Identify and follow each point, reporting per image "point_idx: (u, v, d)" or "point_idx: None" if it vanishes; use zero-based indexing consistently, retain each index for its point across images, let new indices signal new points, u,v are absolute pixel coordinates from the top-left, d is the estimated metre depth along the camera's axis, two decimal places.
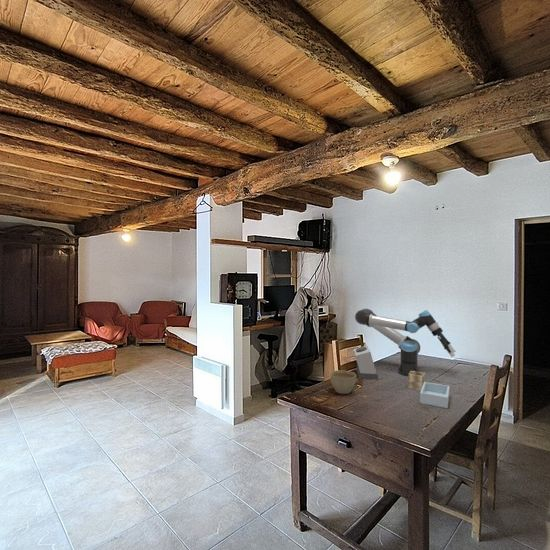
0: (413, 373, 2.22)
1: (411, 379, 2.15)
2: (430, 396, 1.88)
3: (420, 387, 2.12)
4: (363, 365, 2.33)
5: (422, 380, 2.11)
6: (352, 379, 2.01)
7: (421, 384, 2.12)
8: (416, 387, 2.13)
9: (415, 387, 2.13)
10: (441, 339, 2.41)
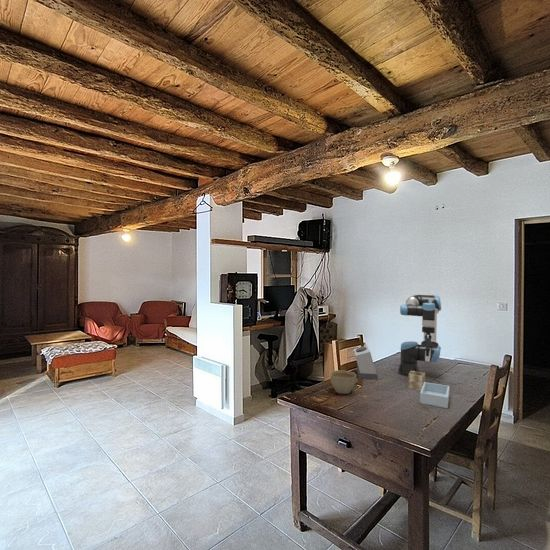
0: (413, 373, 2.22)
1: (411, 379, 2.15)
2: (430, 396, 1.88)
3: (420, 387, 2.12)
4: (363, 365, 2.33)
5: (422, 380, 2.11)
6: (352, 379, 2.01)
7: (421, 384, 2.12)
8: (416, 387, 2.13)
9: (415, 387, 2.13)
10: (428, 339, 2.10)
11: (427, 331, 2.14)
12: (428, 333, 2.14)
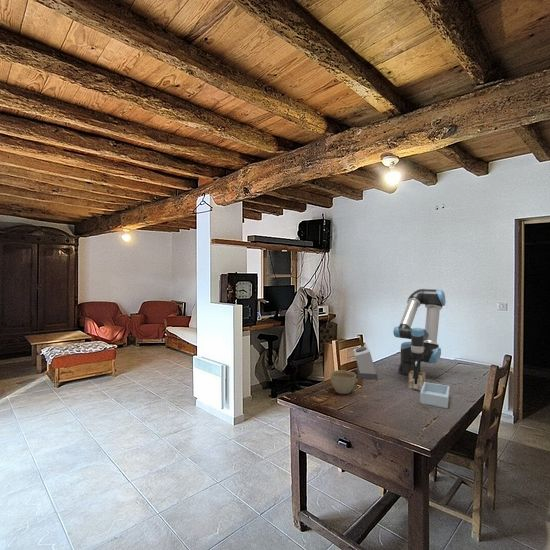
0: (413, 373, 2.22)
1: (411, 379, 2.14)
2: (430, 396, 1.88)
3: (420, 387, 2.12)
4: (363, 365, 2.33)
5: (422, 380, 2.11)
6: (352, 379, 2.01)
7: (421, 384, 2.12)
8: None
9: None
10: (416, 367, 2.11)
11: (415, 357, 2.14)
12: (416, 359, 2.14)
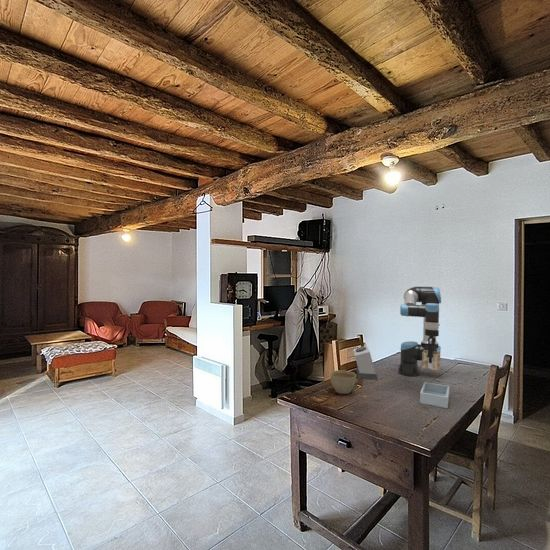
0: (427, 352, 2.05)
1: (425, 358, 1.98)
2: (430, 396, 1.88)
3: (435, 366, 1.95)
4: (363, 365, 2.33)
5: (437, 358, 1.94)
6: (352, 379, 2.01)
7: (436, 363, 1.95)
8: None
9: None
10: (430, 345, 1.94)
11: (430, 334, 1.97)
12: (431, 336, 1.97)
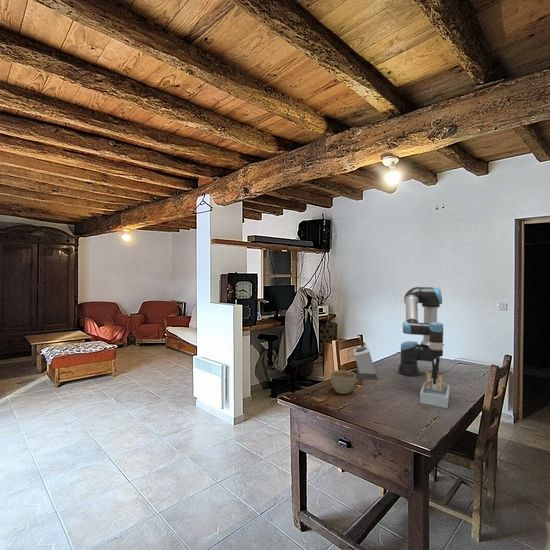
0: (431, 372, 2.01)
1: (429, 379, 1.94)
2: (430, 396, 1.88)
3: (439, 387, 1.91)
4: (362, 365, 2.33)
5: (441, 379, 1.91)
6: (352, 379, 2.01)
7: (440, 384, 1.91)
8: None
9: None
10: (435, 365, 1.90)
11: (434, 354, 1.93)
12: (435, 357, 1.93)
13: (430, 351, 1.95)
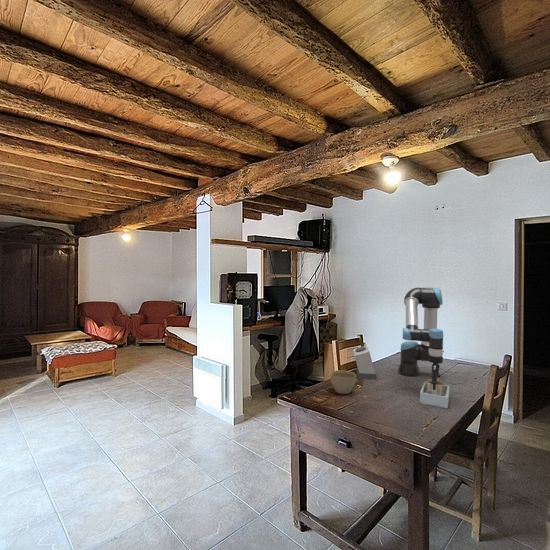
0: None
1: (429, 389, 1.94)
2: (430, 396, 1.88)
3: None
4: (362, 365, 2.33)
5: (441, 390, 1.91)
6: (352, 379, 2.01)
7: (440, 394, 1.91)
8: None
9: None
10: (435, 371, 1.90)
11: (434, 361, 1.93)
12: (435, 363, 1.93)
13: (430, 358, 1.95)
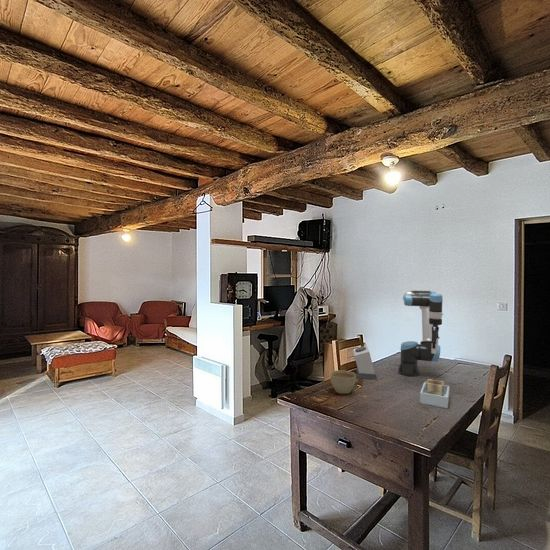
0: (430, 382, 2.01)
1: (429, 389, 1.94)
2: (430, 396, 1.88)
3: None
4: (362, 365, 2.33)
5: (441, 390, 1.91)
6: (352, 379, 2.01)
7: (440, 394, 1.91)
8: None
9: None
10: (434, 331, 2.07)
11: (434, 323, 2.10)
12: (435, 325, 2.10)
13: (430, 320, 2.12)
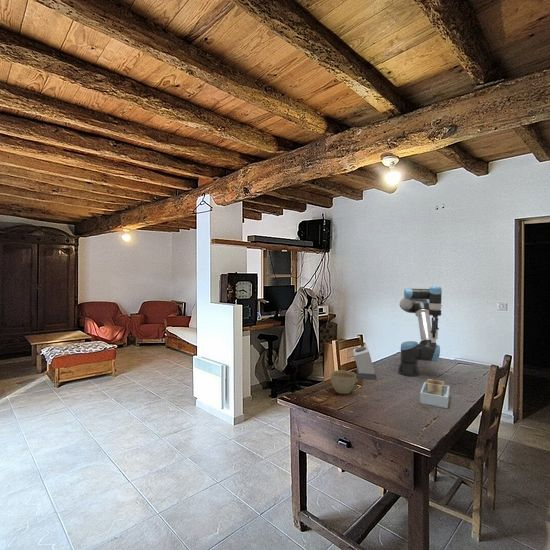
0: (430, 382, 2.01)
1: (429, 389, 1.94)
2: (430, 396, 1.88)
3: None
4: (362, 365, 2.33)
5: (441, 390, 1.91)
6: (352, 379, 2.01)
7: (440, 394, 1.91)
8: None
9: None
10: (434, 322, 2.19)
11: (433, 314, 2.22)
12: (434, 316, 2.22)
13: (430, 311, 2.24)
